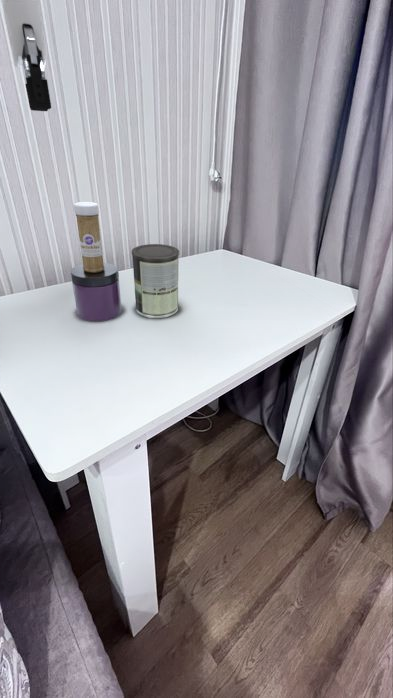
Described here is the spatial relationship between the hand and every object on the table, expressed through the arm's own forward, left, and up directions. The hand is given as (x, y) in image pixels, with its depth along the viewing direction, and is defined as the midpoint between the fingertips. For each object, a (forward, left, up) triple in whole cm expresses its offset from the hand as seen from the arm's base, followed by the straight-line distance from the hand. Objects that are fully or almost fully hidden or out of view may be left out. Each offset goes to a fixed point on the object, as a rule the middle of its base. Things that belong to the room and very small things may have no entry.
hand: (40, 109), depth 60 cm
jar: (+5, -7, -38) cm, 39 cm away
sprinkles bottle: (+5, -7, -28) cm, 30 cm away
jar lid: (+5, -7, -29) cm, 30 cm away
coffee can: (+18, -10, -38) cm, 44 cm away
